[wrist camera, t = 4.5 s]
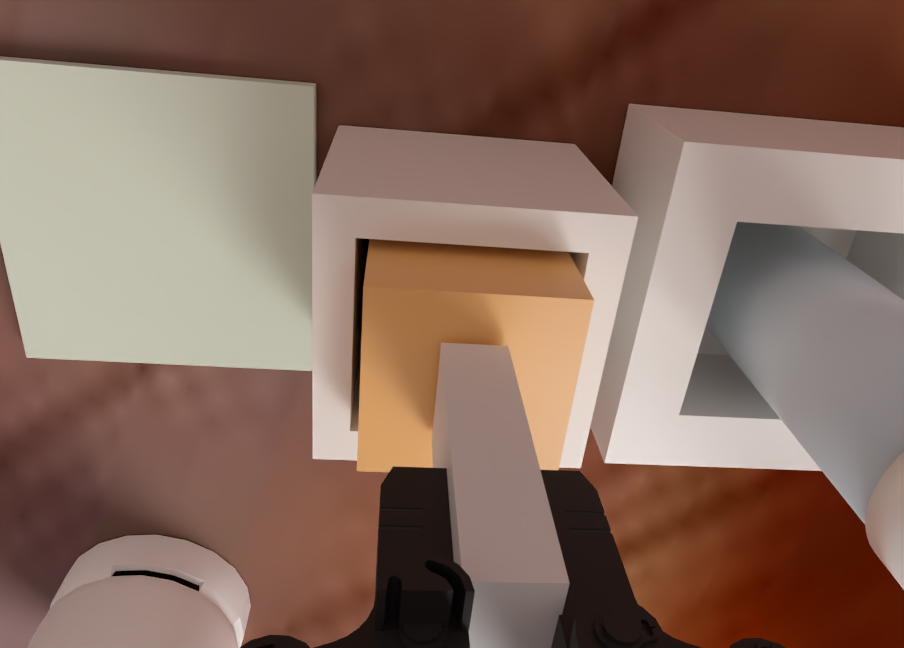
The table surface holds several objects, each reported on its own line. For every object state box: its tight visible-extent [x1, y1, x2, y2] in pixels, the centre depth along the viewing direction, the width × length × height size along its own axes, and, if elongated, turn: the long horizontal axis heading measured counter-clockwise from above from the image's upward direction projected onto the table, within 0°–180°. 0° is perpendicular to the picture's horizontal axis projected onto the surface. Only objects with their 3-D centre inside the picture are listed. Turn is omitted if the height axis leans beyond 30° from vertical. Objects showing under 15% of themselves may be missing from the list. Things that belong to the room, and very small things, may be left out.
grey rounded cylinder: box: [706, 222, 904, 589], centre depth 19 cm, size 5×5×12 cm
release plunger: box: [357, 239, 594, 472], centre depth 19 cm, size 5×5×8 cm
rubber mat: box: [0, 56, 316, 371], centre depth 23 cm, size 10×10×1 cm
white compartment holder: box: [312, 104, 904, 471], centre depth 21 cm, size 20×10×7 cm, turn 85°
